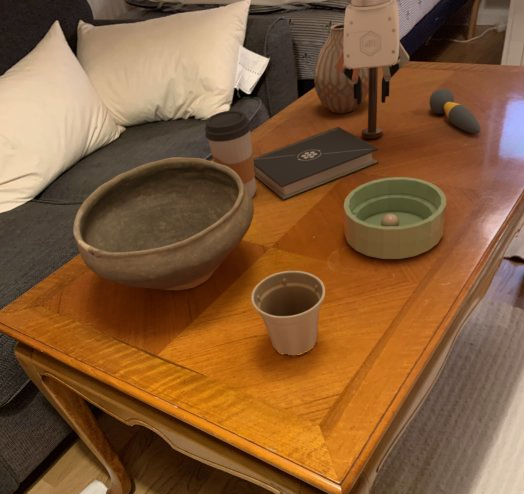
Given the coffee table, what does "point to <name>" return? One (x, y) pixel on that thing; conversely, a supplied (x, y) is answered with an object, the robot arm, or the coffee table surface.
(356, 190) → the green round dish
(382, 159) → the coffee table surface
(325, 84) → the vase
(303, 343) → the flower pot
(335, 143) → the book
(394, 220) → the bead
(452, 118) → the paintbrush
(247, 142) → the coffee cup
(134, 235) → the bowl
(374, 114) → the stick
